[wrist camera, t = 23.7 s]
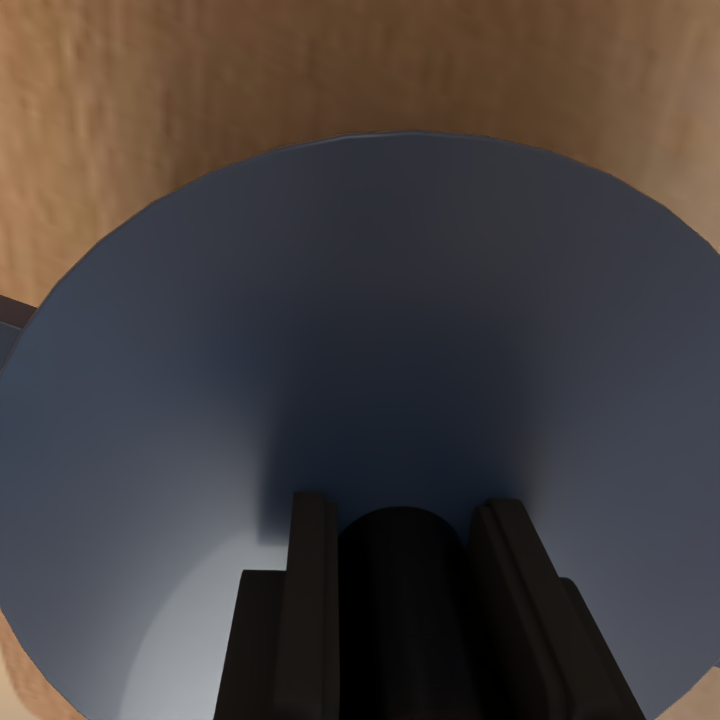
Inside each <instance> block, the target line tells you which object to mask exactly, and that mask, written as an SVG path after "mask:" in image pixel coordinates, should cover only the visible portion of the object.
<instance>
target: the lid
mask: <svg viewBox="0 0 720 720" xmlns="http://www.w3.org/2000/svg"><path fill="white" fill-rule="evenodd" d="M294 492H320V493H325V501H336V502H337V541H338V599H339V657H340V706H339V720H517V719H516V716H515V713H514V709H513V706H512V703H511V700H510V696H509V693H508V690H507V687H506V683H505V680H504V677H503V673H502V670H501V667H500V664H499V660H498V657H497V654H496V651H495V647H494V644H493V641H492V638H491V634H490V631H489V628H488V625H487V621H486V618H485V615H484V611H483V608H482V605H481V602H480V598H479V595H478V592H477V589H476V585H475V582H474V579H473V576H472V572H471V569H470V566H469V563H468V559H467V556H466V552H467V547H468V541H469V535H470V529H471V524H472V518H473V513H474V509H475V507H476V506H484V504H485V501H486V500H487V499H488V498H498V499H519V500H521V502H522V503H523V505H524V507H525V509H526V511H527V513H528V515H529V517H530V519H531V521H532V523H533V525H534V527H535V529H536V531H537V533H538V535H539V537H540V539H541V541H542V543H543V546H544V548H545V550H546V552H547V554H548V556H549V558H550V560H551V562H552V564H553V566H554V568H555V570H556V572H557V574H558V576H559V577H568V578H569V579H571V580H572V581H573V582H574V583H575V585H576V586H577V588H578V590H579V591H580V593H581V595H582V597H583V599H584V601H585V603H586V605H587V607H588V609H589V611H590V613H591V614H592V616H593V618H594V620H595V622H596V624H597V626H598V628H599V630H600V632H601V634H602V636H603V638H604V639H605V641H606V643H607V645H608V647H609V649H610V651H611V653H612V655H613V657H614V659H615V661H616V662H617V664H618V666H619V668H620V670H621V672H622V674H623V676H624V678H625V680H626V682H627V684H628V685H629V687H630V689H631V691H632V693H633V695H634V697H635V699H636V701H637V703H638V705H639V707H640V708H641V710H642V712H643V714H644V716H645V718H646V720H654V719H656V718H657V717H659V716H660V715H661V714H662V713H663V712H665V711H666V710H667V709H668V708H669V707H671V706H672V705H673V704H674V703H675V702H676V701H678V700H679V699H680V698H681V697H682V696H684V695H685V694H686V693H687V692H688V691H690V690H691V689H692V688H693V686H694V685H695V684H696V683H697V682H698V681H699V680H700V679H701V678H702V677H703V676H704V675H705V674H706V673H707V672H708V671H709V670H710V669H711V668H712V667H713V666H714V665H715V664H716V663H717V662H718V661H719V660H720V255H719V254H718V253H717V251H716V250H715V249H714V248H713V247H712V246H711V245H710V243H709V242H708V241H706V240H705V239H704V238H703V237H702V236H700V235H699V234H698V233H697V232H696V231H694V230H693V229H692V228H691V227H689V226H688V225H687V224H686V223H685V222H683V221H682V220H681V219H680V218H679V217H677V216H676V215H675V214H674V213H672V212H671V211H670V210H669V209H668V208H666V207H665V206H664V205H662V204H661V203H659V202H657V201H656V200H654V199H652V198H650V197H649V196H647V195H645V194H644V193H642V192H640V191H638V190H637V189H635V188H633V187H632V186H630V185H628V184H627V183H625V182H623V181H621V180H620V179H618V178H616V177H615V176H613V175H611V174H609V173H606V172H604V171H601V170H599V169H596V168H593V167H591V166H588V165H586V164H583V163H581V162H578V161H576V160H573V159H571V158H568V157H566V156H563V155H560V154H558V153H555V152H553V151H550V150H546V149H541V148H537V147H532V146H528V145H524V144H519V143H515V142H511V141H506V140H502V139H498V138H493V137H489V136H484V135H477V134H465V133H453V132H441V131H429V130H417V129H406V130H389V131H372V132H355V133H343V134H338V135H333V136H328V137H323V138H318V139H313V140H308V141H303V142H298V143H293V144H288V145H283V146H279V147H276V148H273V149H270V150H267V151H265V152H262V153H259V154H256V155H253V156H250V157H248V158H245V159H242V160H239V161H236V162H233V163H231V164H228V165H225V166H222V167H219V168H217V169H215V170H213V171H211V172H209V173H207V174H205V175H203V176H201V177H199V178H197V179H195V180H193V181H191V182H190V183H188V184H186V185H184V186H182V187H180V188H178V189H176V190H174V191H172V192H170V193H169V194H167V195H165V196H163V197H161V198H159V199H157V200H155V201H153V202H151V203H150V204H149V205H147V206H146V207H145V208H143V209H142V210H140V211H139V212H138V213H136V214H135V215H134V216H132V217H131V218H129V219H128V220H127V221H125V222H124V223H123V224H121V225H120V226H118V227H117V228H116V229H114V230H113V231H112V232H110V233H109V234H107V235H106V236H105V237H103V238H102V239H101V240H99V241H98V242H97V243H96V244H95V245H94V246H93V247H92V248H91V249H90V250H89V251H88V252H87V253H86V254H85V255H84V256H83V257H82V258H81V259H80V260H79V261H78V262H77V263H76V264H75V265H74V266H73V267H72V268H71V269H70V270H69V271H68V272H67V273H66V274H65V275H64V276H63V277H62V278H61V279H60V280H59V281H58V282H57V283H56V284H55V285H54V287H53V288H52V289H51V291H50V292H49V294H48V295H47V296H46V298H45V299H44V300H43V302H42V303H41V304H40V306H39V307H38V309H37V310H36V311H35V313H34V314H33V315H32V317H31V318H30V319H29V321H28V322H27V324H26V325H25V326H24V328H23V329H22V330H21V332H20V334H19V336H18V338H17V340H16V342H15V344H14V346H13V348H12V350H11V352H10V354H9V356H8V358H7V360H6V362H5V364H4V366H3V368H2V370H1V372H0V608H1V611H2V613H3V614H4V616H5V618H6V620H7V621H8V623H9V625H10V627H11V629H12V630H13V632H14V634H15V636H16V637H17V639H18V641H19V643H20V645H21V646H22V648H23V649H24V651H25V652H26V653H27V655H28V656H29V657H30V659H31V660H32V661H33V663H34V664H35V665H36V666H37V668H38V669H39V670H40V672H41V673H42V674H43V676H44V677H45V678H46V680H47V681H48V682H49V683H50V684H51V685H52V686H53V687H54V688H55V689H56V690H57V691H58V692H59V693H60V694H61V695H62V696H63V697H64V698H65V699H66V700H67V701H68V702H69V703H70V704H71V705H72V706H73V707H74V708H75V709H76V710H77V711H78V712H79V713H80V714H82V715H83V716H84V717H85V718H87V719H88V720H213V718H214V713H215V707H216V702H217V697H218V692H219V687H220V681H221V676H222V671H223V666H224V661H225V656H226V650H227V645H228V640H229V635H230V630H231V625H232V619H233V614H234V609H235V604H236V599H237V593H238V588H239V583H240V578H241V574H242V571H243V570H284V571H286V566H287V556H288V546H289V535H290V525H291V514H292V504H293V494H294Z"/></svg>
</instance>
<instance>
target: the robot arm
mask: <svg viewBox="0 0 720 720" xmlns="http://www.w3.org/2000/svg"><path fill="white" fill-rule="evenodd" d="M466 556H467V559H468V563H469V566H470V569H471V572H472V576H473V579H474V582H475V585H476V589H477V592H478V595H479V598H480V602H481V605H482V608H483V611H484V615H485V618H486V621H487V625H488V628H489V631H490V634H491V638H492V641H493V644H494V647H495V651H496V654H497V657H498V660H499V664H500V667H501V670H502V673H503V677H504V680H505V683H506V687H507V690H508V693H509V696H510V700H511V703H512V706H513V709H514V713H515V716H516V719H517V720H646V718H645V716H644V714H643V712H642V710H641V708H640V707H639V705H638V703H637V701H636V699H635V697H634V695H633V693H632V691H631V689H630V687H629V685H628V684H627V682H626V680H625V678H624V676H623V674H622V672H621V670H620V668H619V666H618V664H617V662H616V661H615V659H614V657H613V655H612V653H611V651H610V649H609V647H608V645H607V643H606V641H605V639H604V638H603V636H602V634H601V632H600V630H599V628H598V626H597V624H596V622H595V620H594V618H593V616H592V614H591V613H590V611H589V609H588V607H587V605H586V603H585V601H584V599H583V597H582V595H581V593H580V591H579V590H578V588H577V586H576V585H575V583H574V582H573V581H572V580H571V579H569V578H568V577H559V576H558V574H557V572H556V570H555V568H554V566H553V564H552V562H551V560H550V558H549V556H548V554H547V552H546V550H545V548H544V546H543V543H542V541H541V539H540V537H539V535H538V533H537V531H536V529H535V527H534V525H533V523H532V521H531V519H530V517H529V515H528V513H527V511H526V509H525V507H524V505H523V503H522V502H521V500H519V499H498V498H488V499H487V500H486V501H485V504H484V506H476V507H475V509H474V513H473V518H472V524H471V529H470V535H469V541H468V547H467V552H466ZM339 706H340V657H339V599H338V541H337V502H336V501H325V493H320V492H294V494H293V504H292V514H291V525H290V535H289V546H288V556H287V566H286V571H284V570H243V571H242V574H241V578H240V583H239V588H238V593H237V599H236V604H235V609H234V614H233V619H232V625H231V630H230V635H229V640H228V645H227V650H226V656H225V661H224V666H223V671H222V676H221V681H220V687H219V692H218V697H217V702H216V707H215V713H214V718H213V720H339Z"/></svg>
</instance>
